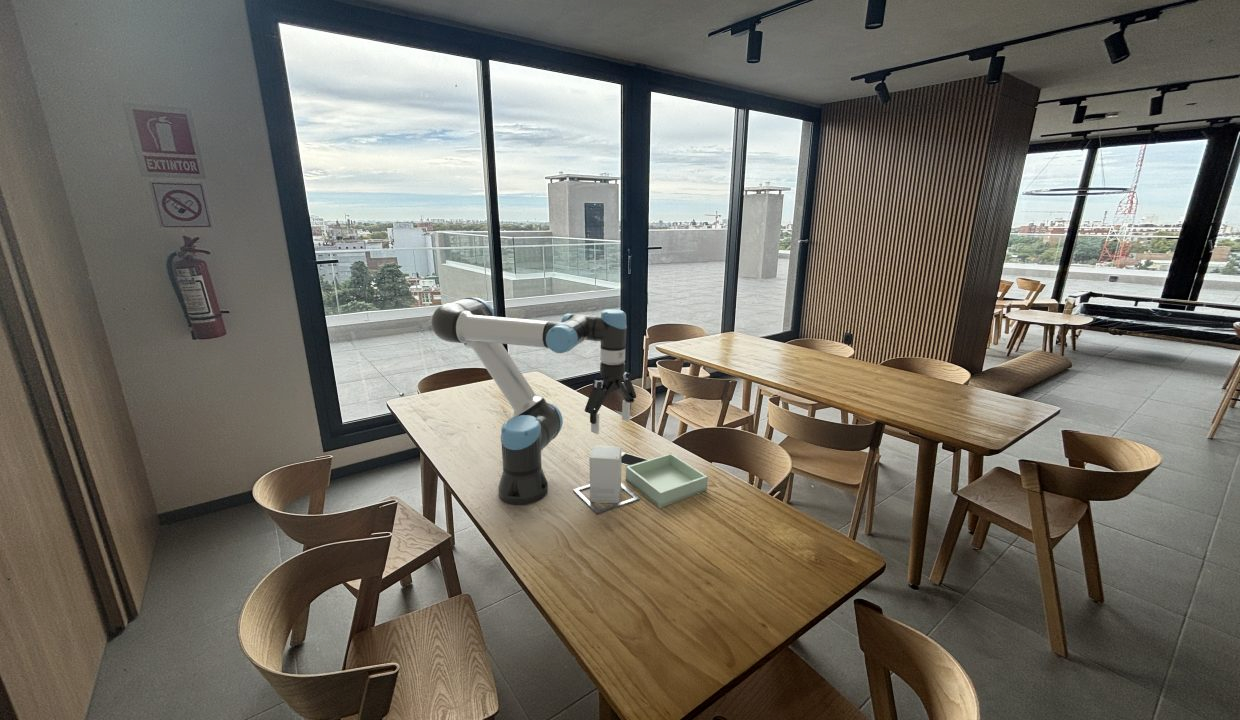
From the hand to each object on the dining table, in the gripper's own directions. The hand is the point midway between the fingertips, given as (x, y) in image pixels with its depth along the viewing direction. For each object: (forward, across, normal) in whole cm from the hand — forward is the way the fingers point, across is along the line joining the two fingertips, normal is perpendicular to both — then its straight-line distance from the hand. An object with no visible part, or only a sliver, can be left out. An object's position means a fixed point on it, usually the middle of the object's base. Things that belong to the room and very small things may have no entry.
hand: (610, 426), depth 154 cm
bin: (+20, +12, -14) cm, 27 cm away
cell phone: (+20, +16, +4) cm, 26 cm away
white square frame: (+20, -6, -4) cm, 21 cm away
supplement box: (+20, -6, -4) cm, 21 cm away
